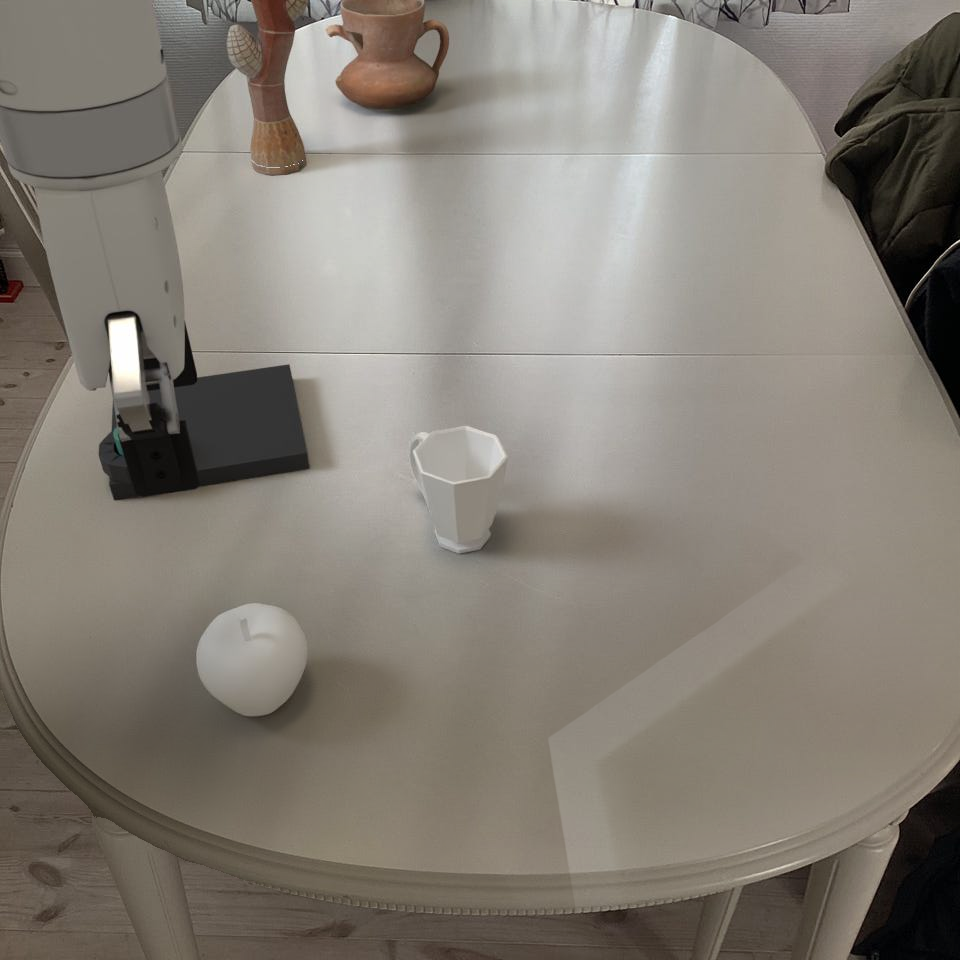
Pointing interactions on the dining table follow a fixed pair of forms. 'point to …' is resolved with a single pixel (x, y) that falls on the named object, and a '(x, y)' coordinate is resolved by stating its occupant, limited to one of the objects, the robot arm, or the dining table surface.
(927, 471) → the dining table surface
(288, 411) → the scale
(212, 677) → the plain white apple
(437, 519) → the cup
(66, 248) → the robot arm
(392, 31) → the ceramic jug
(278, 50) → the vase
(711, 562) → the dining table surface
